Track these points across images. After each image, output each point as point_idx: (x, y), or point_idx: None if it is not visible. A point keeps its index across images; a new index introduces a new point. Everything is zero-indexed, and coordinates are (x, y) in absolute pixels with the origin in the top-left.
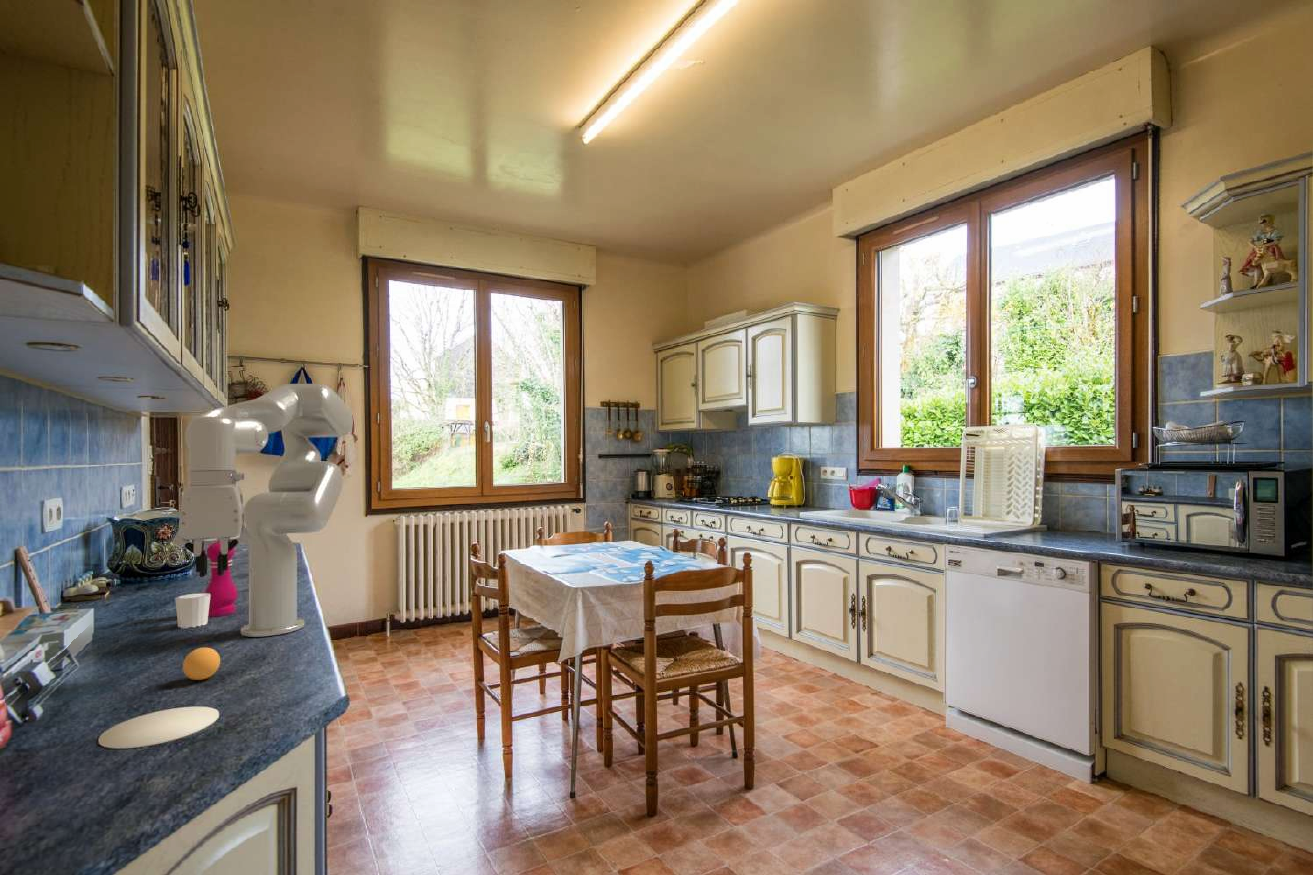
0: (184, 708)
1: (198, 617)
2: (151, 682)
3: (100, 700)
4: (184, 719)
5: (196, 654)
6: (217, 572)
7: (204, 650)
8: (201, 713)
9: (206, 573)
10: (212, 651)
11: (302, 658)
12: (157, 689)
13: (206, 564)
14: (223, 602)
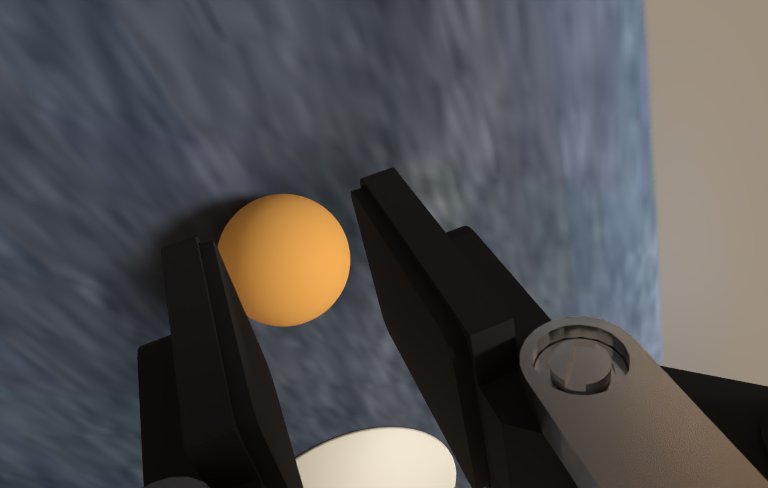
0: (358, 440)
1: None
2: (74, 244)
3: (25, 396)
4: (390, 483)
5: (295, 323)
6: (395, 344)
7: (317, 306)
8: (413, 459)
9: (228, 276)
10: (338, 283)
11: (573, 24)
12: (165, 313)
13: (249, 354)
14: None
